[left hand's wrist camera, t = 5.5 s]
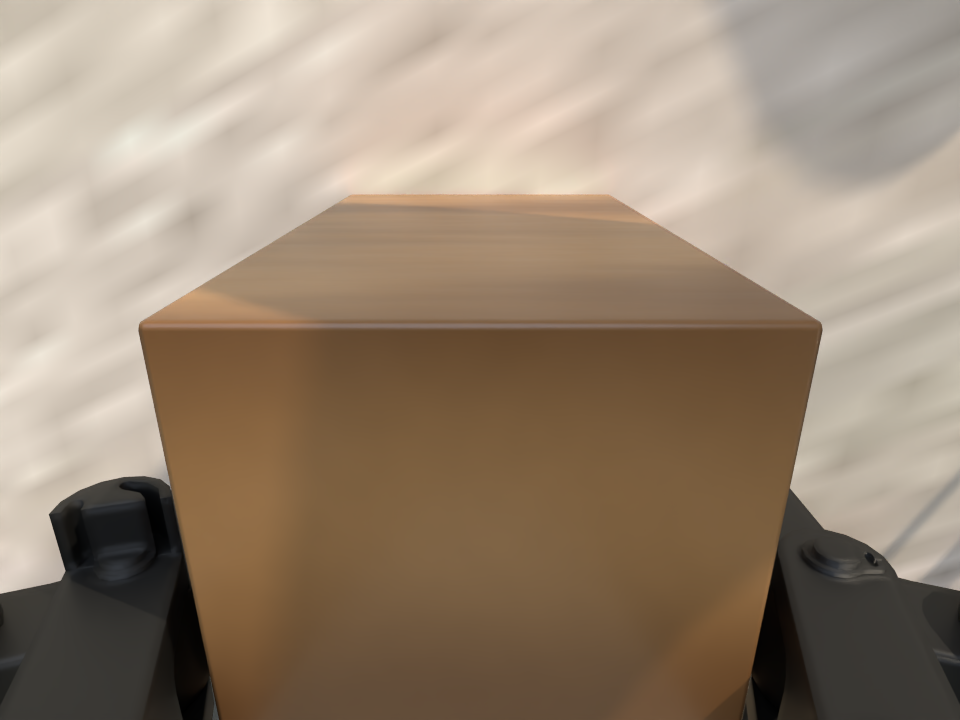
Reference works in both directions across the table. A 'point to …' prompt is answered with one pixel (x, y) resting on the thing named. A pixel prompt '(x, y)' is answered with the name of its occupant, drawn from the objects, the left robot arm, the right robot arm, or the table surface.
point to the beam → (480, 463)
